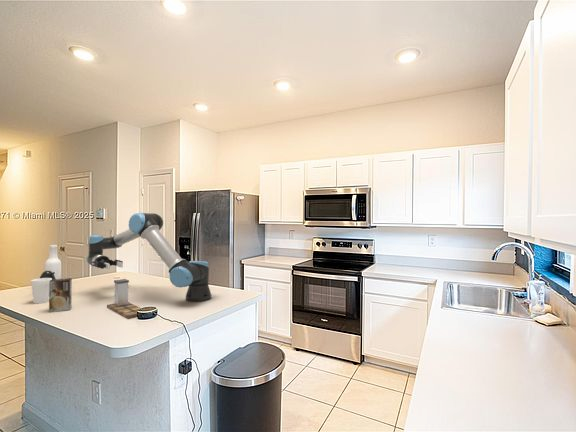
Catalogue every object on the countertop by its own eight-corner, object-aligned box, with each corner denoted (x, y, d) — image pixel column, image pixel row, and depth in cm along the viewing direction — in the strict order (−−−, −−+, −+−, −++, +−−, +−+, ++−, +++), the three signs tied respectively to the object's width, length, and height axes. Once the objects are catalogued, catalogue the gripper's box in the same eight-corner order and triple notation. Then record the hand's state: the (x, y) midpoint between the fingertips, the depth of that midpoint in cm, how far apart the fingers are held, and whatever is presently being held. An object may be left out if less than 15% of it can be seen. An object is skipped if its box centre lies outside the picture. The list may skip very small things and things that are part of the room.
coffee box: (72, 307, 166) (72, 277, 166) (70, 310, 161) (70, 279, 161) (51, 309, 162) (51, 279, 162) (48, 312, 156) (48, 281, 156)
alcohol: (53, 290, 201) (54, 245, 201) (40, 290, 201) (41, 245, 202) (64, 287, 210) (64, 244, 210) (51, 287, 210) (52, 244, 210)
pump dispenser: (45, 297, 186) (46, 272, 186) (32, 296, 188) (32, 271, 188) (61, 293, 196) (61, 269, 196) (48, 292, 198) (48, 268, 198)
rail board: (106, 307, 166) (106, 304, 166) (126, 303, 174) (126, 300, 174) (127, 319, 148) (128, 315, 148) (148, 314, 156) (148, 311, 156)
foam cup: (26, 303, 172) (27, 280, 173) (44, 299, 181) (45, 277, 181) (37, 305, 169) (37, 281, 169) (55, 301, 177) (55, 278, 178)
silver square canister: (113, 304, 166) (114, 280, 166) (124, 302, 170) (124, 278, 170) (117, 306, 162) (118, 281, 162) (128, 304, 166) (129, 280, 167)
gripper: (117, 265, 194) (132, 270, 179) (82, 269, 180) (96, 274, 165) (117, 254, 194) (133, 257, 179) (83, 256, 180) (96, 260, 165)
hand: (115, 265), depth 172 cm, fingers open, 6 cm apart
